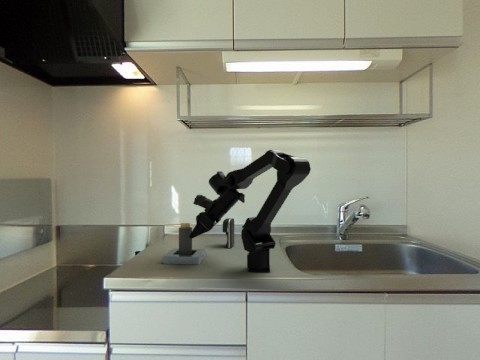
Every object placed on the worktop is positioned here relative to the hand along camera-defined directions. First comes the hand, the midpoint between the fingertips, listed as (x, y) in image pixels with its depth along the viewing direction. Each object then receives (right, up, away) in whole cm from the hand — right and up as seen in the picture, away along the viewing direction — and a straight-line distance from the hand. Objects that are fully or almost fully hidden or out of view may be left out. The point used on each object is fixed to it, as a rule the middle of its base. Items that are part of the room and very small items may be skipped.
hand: (192, 235), depth 117 cm
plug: (-3, -8, +1) cm, 9 cm away
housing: (-3, -8, +1) cm, 9 cm away
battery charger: (+11, -8, +21) cm, 26 cm away
